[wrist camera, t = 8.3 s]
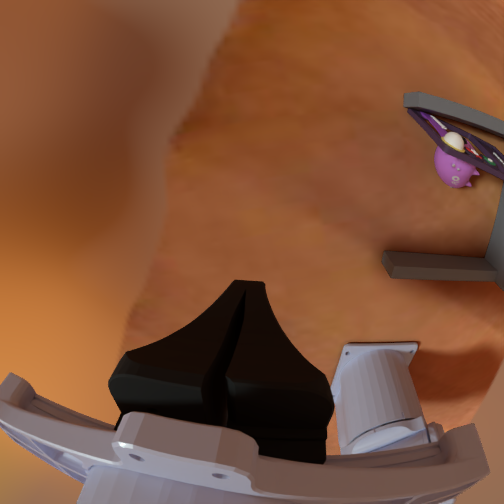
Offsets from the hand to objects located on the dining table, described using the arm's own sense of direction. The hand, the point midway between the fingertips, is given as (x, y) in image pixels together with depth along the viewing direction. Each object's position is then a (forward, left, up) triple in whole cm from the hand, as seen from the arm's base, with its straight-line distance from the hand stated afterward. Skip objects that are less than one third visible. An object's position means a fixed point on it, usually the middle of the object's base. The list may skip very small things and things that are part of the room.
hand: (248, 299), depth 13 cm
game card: (+7, -14, -10) cm, 18 cm away
